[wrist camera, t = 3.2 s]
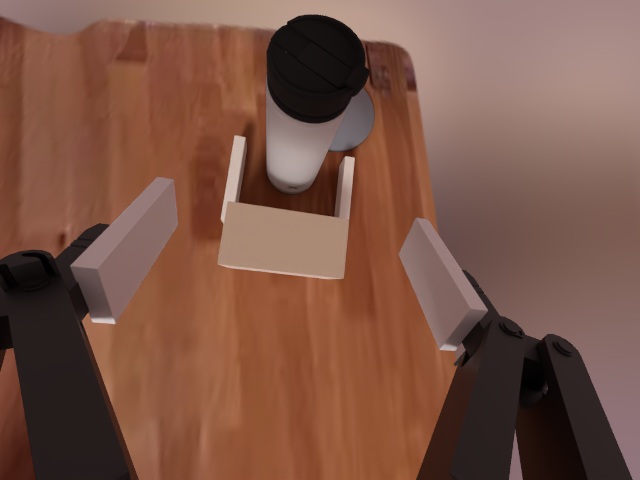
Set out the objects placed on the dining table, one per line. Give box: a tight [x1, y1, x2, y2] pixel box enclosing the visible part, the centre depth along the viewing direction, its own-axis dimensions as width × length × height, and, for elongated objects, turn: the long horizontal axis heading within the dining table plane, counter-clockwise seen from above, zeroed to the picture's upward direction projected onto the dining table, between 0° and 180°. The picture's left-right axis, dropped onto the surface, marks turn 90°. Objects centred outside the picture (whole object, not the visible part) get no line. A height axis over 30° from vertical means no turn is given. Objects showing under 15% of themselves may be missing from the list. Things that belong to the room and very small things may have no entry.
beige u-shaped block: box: [217, 135, 355, 279], centre depth 32 cm, size 15×14×8 cm
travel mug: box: [266, 15, 370, 194], centre depth 27 cm, size 6×7×20 cm
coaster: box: [328, 88, 374, 152], centre depth 38 cm, size 11×11×1 cm
